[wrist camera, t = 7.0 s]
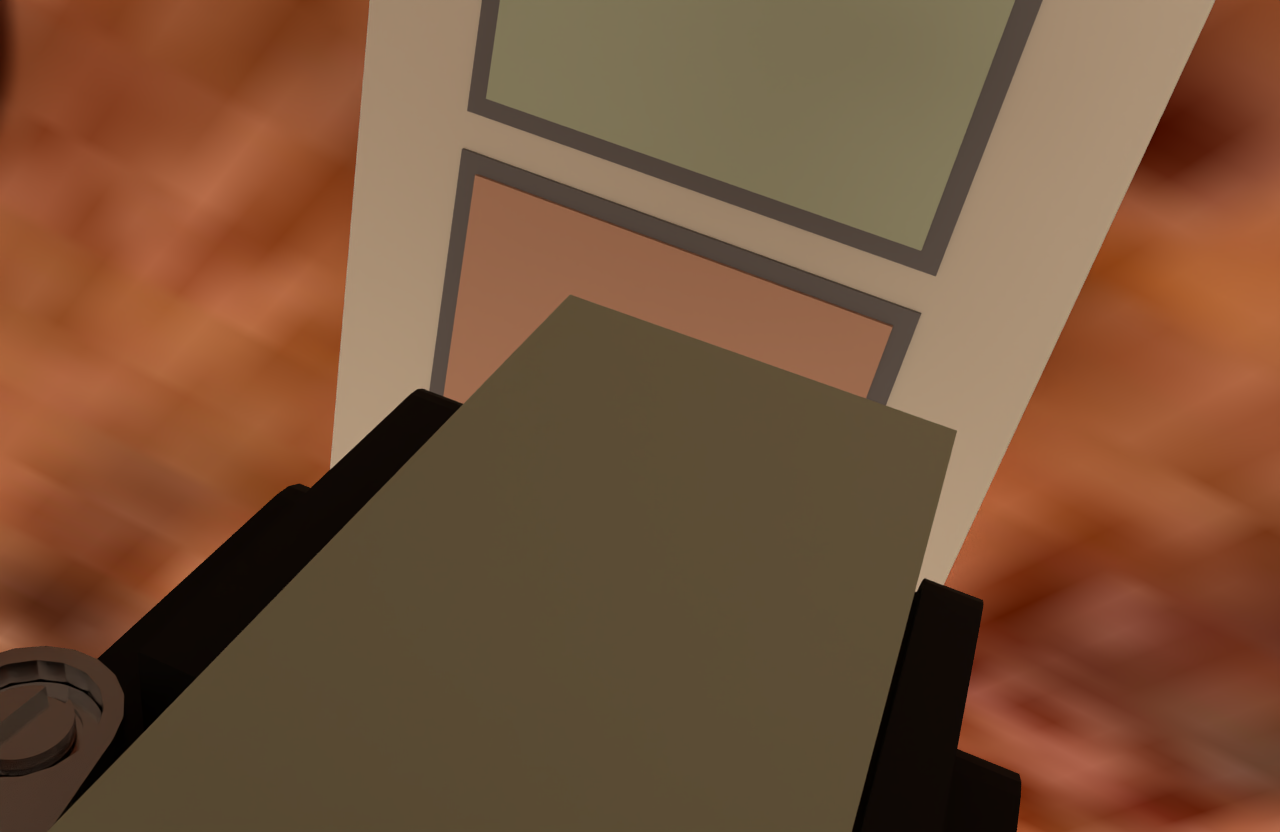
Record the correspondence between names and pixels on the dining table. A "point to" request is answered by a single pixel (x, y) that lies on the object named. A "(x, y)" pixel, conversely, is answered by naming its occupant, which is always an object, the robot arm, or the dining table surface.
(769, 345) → the picture board
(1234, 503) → the dining table surface
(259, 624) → the sage block
